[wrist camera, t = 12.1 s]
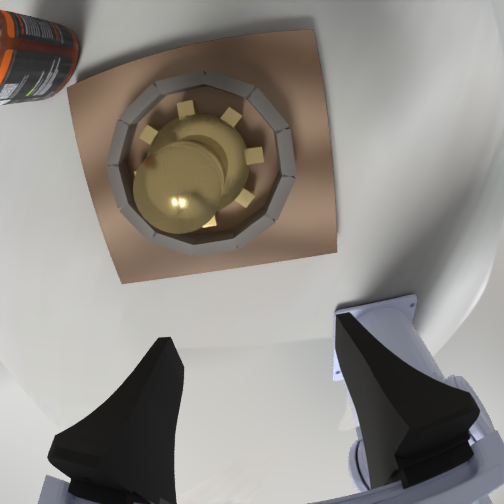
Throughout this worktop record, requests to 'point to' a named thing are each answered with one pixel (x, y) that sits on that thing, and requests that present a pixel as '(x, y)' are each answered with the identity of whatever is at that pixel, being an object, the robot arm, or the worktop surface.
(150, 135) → the planet gear
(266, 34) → the collar board
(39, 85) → the supplement bottle
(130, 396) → the robot arm
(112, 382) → the worktop surface
